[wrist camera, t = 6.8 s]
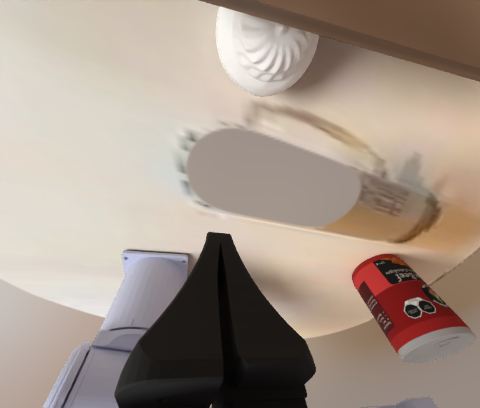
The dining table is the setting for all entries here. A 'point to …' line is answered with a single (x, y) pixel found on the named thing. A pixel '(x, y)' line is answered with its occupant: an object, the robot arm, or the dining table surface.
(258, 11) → the walnut shelf
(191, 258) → the dining table surface
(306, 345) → the robot arm
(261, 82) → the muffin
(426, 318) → the canned food
